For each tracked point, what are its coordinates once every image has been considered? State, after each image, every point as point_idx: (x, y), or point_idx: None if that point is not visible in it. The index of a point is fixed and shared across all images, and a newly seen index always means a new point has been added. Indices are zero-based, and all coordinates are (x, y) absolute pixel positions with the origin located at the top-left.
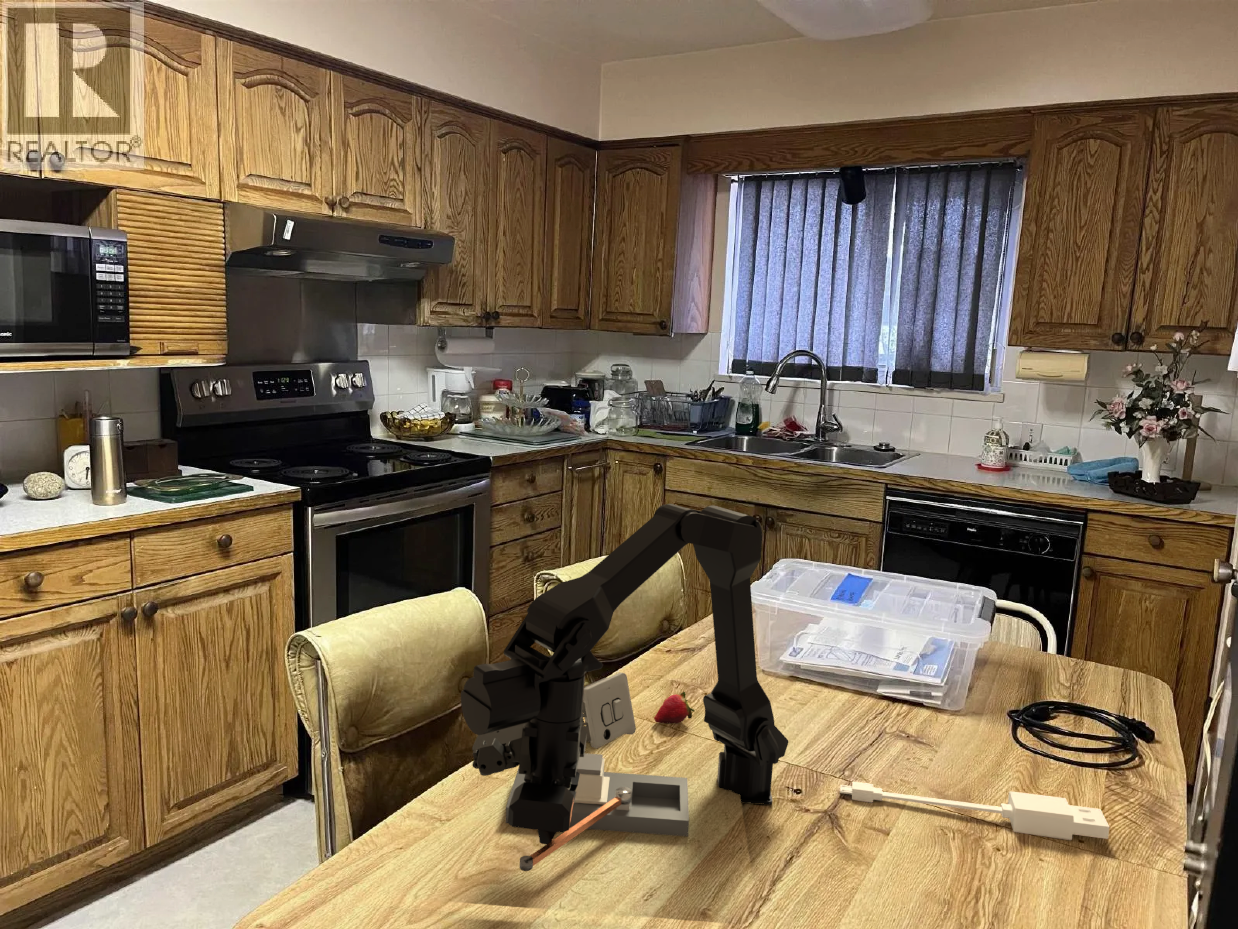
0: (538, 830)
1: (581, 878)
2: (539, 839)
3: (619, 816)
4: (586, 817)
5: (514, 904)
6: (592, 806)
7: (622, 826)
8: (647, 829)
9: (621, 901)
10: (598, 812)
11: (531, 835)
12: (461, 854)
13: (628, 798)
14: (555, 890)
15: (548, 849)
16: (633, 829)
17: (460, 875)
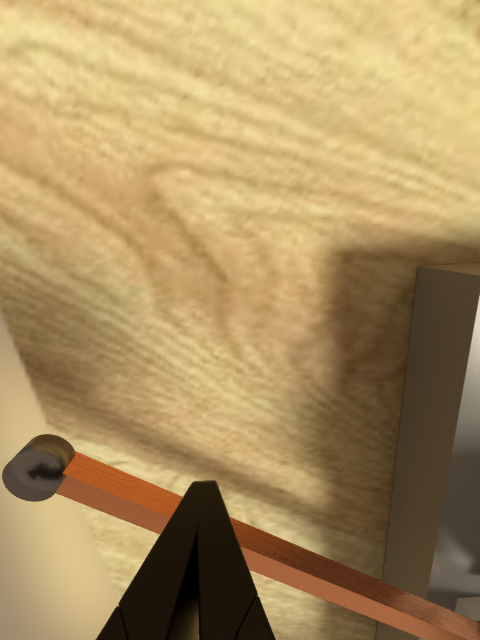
0: (157, 542)
1: (224, 488)
2: (187, 493)
3: None
4: (363, 597)
5: (83, 366)
6: (477, 544)
7: (404, 578)
8: None
9: None
10: (396, 623)
11: (394, 346)
12: (275, 151)
13: None
14: (165, 445)
15: (139, 525)
16: None
17: (166, 180)
